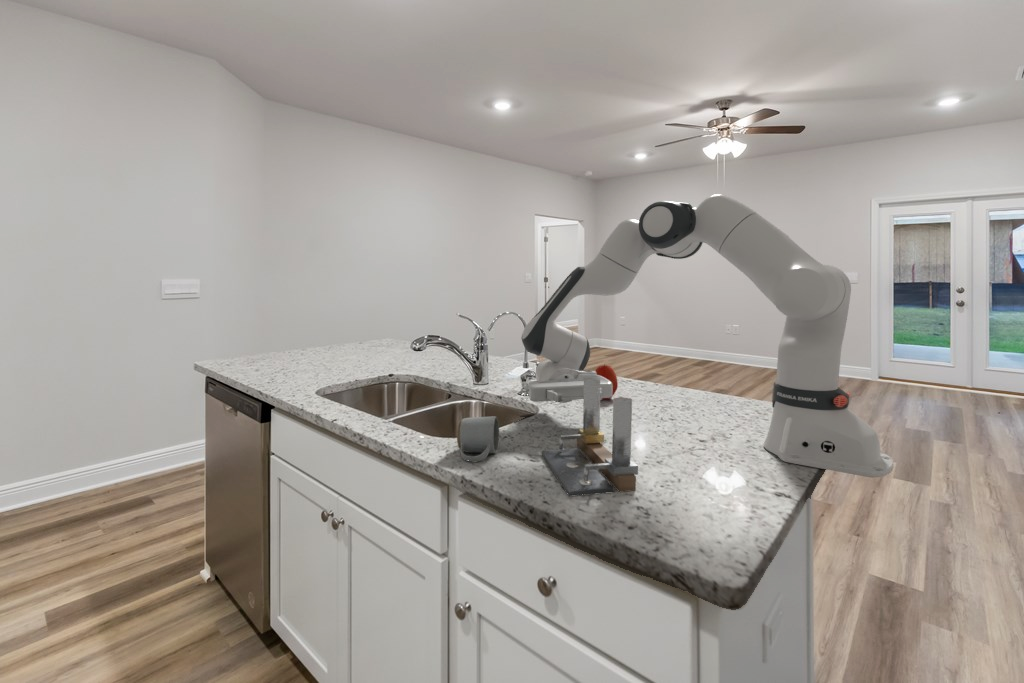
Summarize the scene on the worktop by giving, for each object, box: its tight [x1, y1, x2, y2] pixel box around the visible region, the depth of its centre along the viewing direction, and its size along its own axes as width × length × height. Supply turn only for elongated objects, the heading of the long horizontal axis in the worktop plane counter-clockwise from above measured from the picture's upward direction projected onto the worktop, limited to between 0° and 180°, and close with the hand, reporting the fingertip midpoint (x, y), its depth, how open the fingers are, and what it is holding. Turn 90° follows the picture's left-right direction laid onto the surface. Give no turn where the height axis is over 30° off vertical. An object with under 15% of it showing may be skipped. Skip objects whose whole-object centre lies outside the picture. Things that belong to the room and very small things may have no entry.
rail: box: [576, 439, 637, 492], centre depth 97 cm, size 24×3×2 cm, turn 10°
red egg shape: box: [594, 363, 619, 401], centre depth 149 cm, size 8×8×11 cm
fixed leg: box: [584, 396, 639, 481], centre depth 87 cm, size 4×9×14 cm, turn 100°
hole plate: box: [540, 447, 615, 497], centre depth 94 cm, size 20×8×1 cm, turn 10°
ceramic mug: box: [456, 415, 500, 462], centre depth 103 cm, size 11×8×8 cm
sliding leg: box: [558, 378, 605, 450], centre depth 102 cm, size 4×9×14 cm, turn 100°
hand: (579, 397), depth 111 cm, fingers open, 8 cm apart
